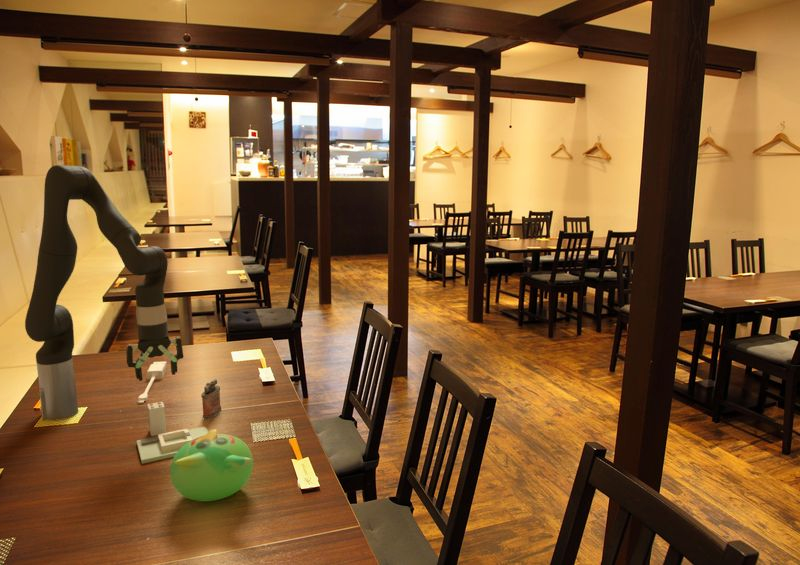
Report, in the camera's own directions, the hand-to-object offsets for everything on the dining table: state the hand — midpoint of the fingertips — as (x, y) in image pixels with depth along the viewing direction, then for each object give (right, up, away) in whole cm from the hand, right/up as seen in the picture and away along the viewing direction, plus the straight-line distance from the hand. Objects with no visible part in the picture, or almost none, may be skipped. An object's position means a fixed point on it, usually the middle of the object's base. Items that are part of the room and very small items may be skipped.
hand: (157, 376), depth 161 cm
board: (+7, -18, -4) cm, 20 cm away
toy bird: (+24, -23, -27) cm, 43 cm away
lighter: (+10, -14, +16) cm, 23 cm away
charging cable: (-18, -9, +38) cm, 43 cm away
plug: (-1, -16, +4) cm, 17 cm away
